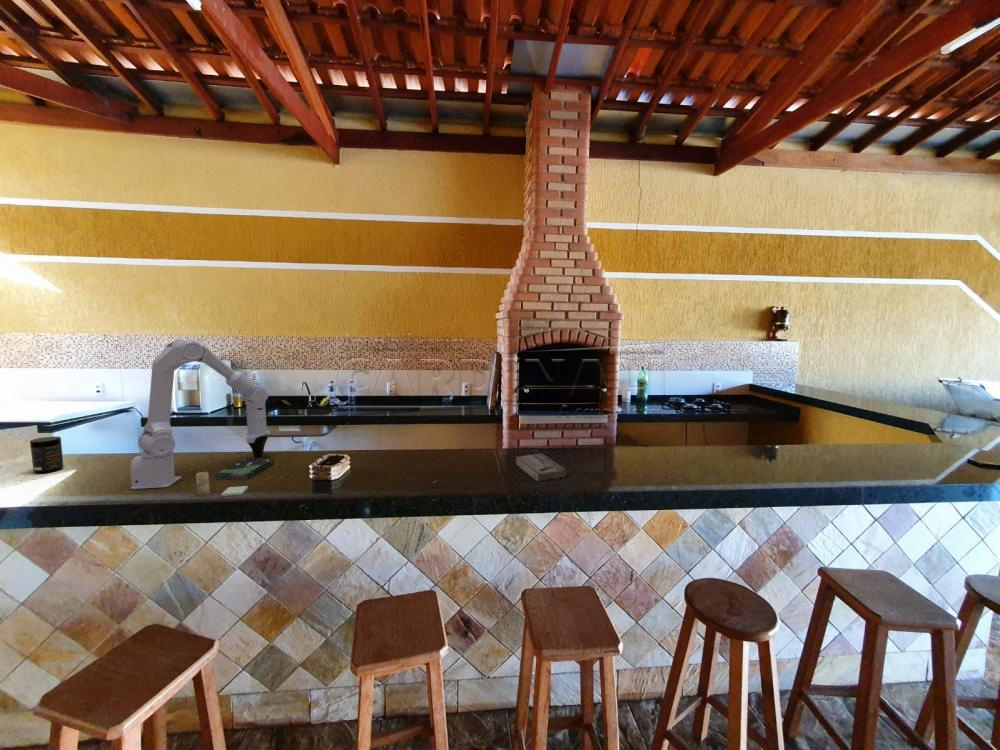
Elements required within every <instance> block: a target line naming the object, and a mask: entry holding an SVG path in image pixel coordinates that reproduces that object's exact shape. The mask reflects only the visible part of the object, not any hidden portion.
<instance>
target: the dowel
mask: <svg viewBox="0 0 1000 750" xmlns="http://www.w3.org/2000/svg"><path fill="white" fill-rule="evenodd" d="M209 477H210V475H209V472H208V471H201V472H198V473H195V478H196V479H195V480H196V493H197V494H196V495H197V497H204V496H208V495H209V494H210V478H209Z"/></svg>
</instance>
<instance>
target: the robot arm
mask: <svg viewBox="0 0 1000 750" xmlns="http://www.w3.org/2000/svg"><path fill="white" fill-rule="evenodd" d="M194 362H197V363H203V364H205V365H206V366H208V367H209V368H211V369H212V370H213V371H215V372H217V373H218V374H219V375H221V376H222V377H224V378H225V382H226V385H228V386H229V387H231V388H232V389H233V390H234V391H236V392H237V393H238V394H240V395H241V396H242V399H243V400H246V401H245V402H246V403H245V404H246V422H247V423H246V425H247V433H246V435H247V437H246V443H247V444H248V445H249V447H250V449H251V452H252V454H253V457H254V459H257V458H263V456H264V450H265V445H266V443H267V440H268V437H269V436H268V435H270V434H271V431H270V430H268V427H267V410H266V401H267V400H268V398H269V393H268V392H267V390H266V389H265V388H264V387H262V386H259V385H258V384H259V383H258V382H257V381H254V380H252V379H251V378H249V377H248V376H247V375H248V374H247V373H246V372H245V371H240V370H234V369H232V368H231V367H230V366H228V364H226V363H225V361H222V360H221V358H219V357H218V356H217V355H216V354H215V353H213V352H212V351H211V350H210V349H209V348H208V347H206V346H203V345H202V343H200V342H199V341H196V340H185V339H175V340H173V341H171V342H169V343H167V344H165V346H164V348H163V350H162V351H161V352H160V353H159V354H158V356H157V357H155V358H154V360H153V361H152V363H151V364H152V367H151V376H150V378H151V379H150V391H149V400H148V402H149V403H148V414H147V421H146V423H145V425H144V426H143V430H142V434H141V435H140V436H139V438H138V441H137V442H138V446H139V447H140V449H142V450H143V451H142V453H141V455H136V456H135V457H134V458H133V459H132V460H131V463H130V477H131V479H130V480H131V487H130V490H140V489H156V488H168V487H170V486H172V485H173V484H174V483H176V482H177V481H179V480H180V479H182V476H176V475H175V464H174V463H175V462H174V451H173V450H174V448H175V446H176V441H175V439H174V437H173V429H172V426H171V412H172V400H173V390H174V389H173V388H174V378H175V377H174V376H175V371H176V370H178V369H179V368H181V367H183V366H184V365H186V364H190V363H194Z"/></svg>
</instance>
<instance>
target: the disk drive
mask: <svg viewBox="0 0 1000 750" xmlns="http://www.w3.org/2000/svg"><path fill="white" fill-rule="evenodd" d="M274 462H275V461H274V458H263V457H261V458H254V459H253V458H251V457H244V458H243V459H240V460H238V461H237V462H233V463H232V464H229V465H228V466H226V467H224V468H221V469H219V470H217V471H215V473H214V475H215V476H214V479H215V480H234V481H235V480H236V481H237V480H238V481H247V480H249V479H251V478H253V477H254V476H256V475H258V474H260V473H262V472H264V471H266V470H268V469H269V468H271V467H273V466H274V464H275V463H274Z"/></svg>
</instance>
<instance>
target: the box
mask: <svg viewBox="0 0 1000 750" xmlns="http://www.w3.org/2000/svg"><path fill="white" fill-rule="evenodd" d="M515 464H516V465H517V466H518V467H519V468H520V469H521V470H523V471H524V472H525V473H526V474H528V475H529V476H530V477H532V479H534V480H535V481H537V482H543V481H549V480H557V479H562V478H563V479H565V478H566V476H567V469H566V468H565V467H564V466H562V465H561V464H559V463H558V462H556V461H554V460H553V459H552V458H550V457H548V456H547V455H546V454H544V453H542V452H541V453H535V454H528V455H527V454H526V455H520V456H519V455H518V456H515Z"/></svg>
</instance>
